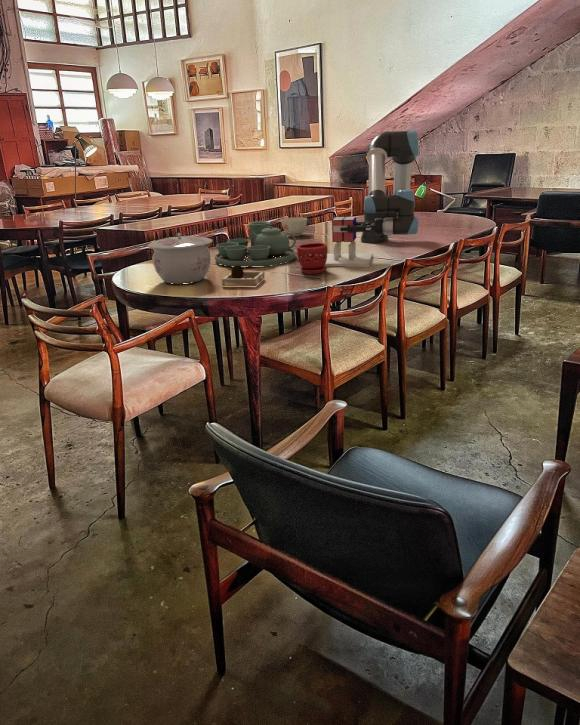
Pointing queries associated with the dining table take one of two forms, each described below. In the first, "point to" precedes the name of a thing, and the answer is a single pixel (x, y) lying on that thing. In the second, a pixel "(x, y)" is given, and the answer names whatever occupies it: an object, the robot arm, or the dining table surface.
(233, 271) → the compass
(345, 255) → the standoff plate
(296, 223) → the bowl
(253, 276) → the watch display frame
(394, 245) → the dining table surface
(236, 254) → the tea set
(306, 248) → the plant pot
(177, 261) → the chamber pot
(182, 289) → the dining table surface
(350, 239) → the puzzle cube
